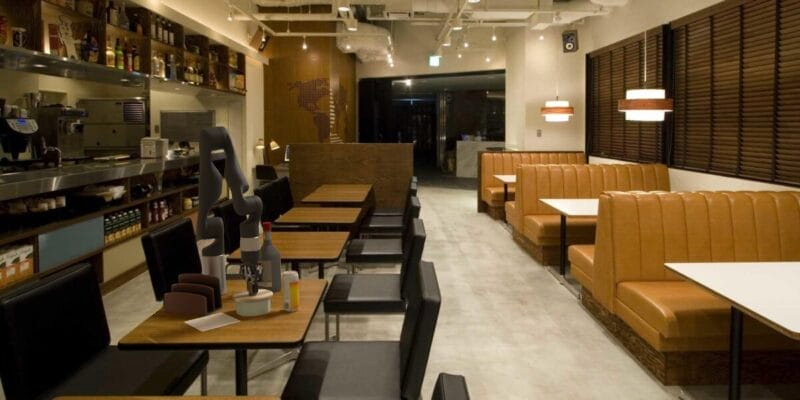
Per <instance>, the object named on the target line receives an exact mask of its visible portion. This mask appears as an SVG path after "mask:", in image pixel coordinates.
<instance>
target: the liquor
mask: <svg viewBox="0 0 800 400" xmlns="http://www.w3.org/2000/svg"><path fill="white" fill-rule="evenodd" d="M262 236H263V237H262V238H263V242H262V246H261V260H259V261H258V264H259V268H260V269H263V276H262V281H261V282H260V283H258V289H265V290H270V291H272V292H273V294H274V293H277V292H280V291H282V289H283V281H282V265H281V264H282V263H281V252H280V250H279V249H278V248H277V247H276V246H275V245H274V244H273V241H272V222H271V221H265V222H262Z"/></svg>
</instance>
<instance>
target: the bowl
mask: <svg viewBox="0 0 800 400" xmlns="http://www.w3.org/2000/svg"><path fill="white" fill-rule="evenodd" d="M271 299H272V298H270V299H268V300H265V301H261V302H254V303H241V302H236V301H235V311H236V312H235V313H236V315H239V316H241V317H257V316H261V315H265V314H268V313H269V312H270V311H271V310H272V303H271Z"/></svg>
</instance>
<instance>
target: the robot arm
mask: <svg viewBox="0 0 800 400" xmlns="http://www.w3.org/2000/svg"><path fill="white" fill-rule="evenodd" d="M221 150H222V151H223V152H224V154H225V166H224V169H223V170H224V173H223V176H224V180H225V182H226V184H227V186H228V188H229V190H230V193H231V198H232V206H233V210H234V211H235V213H236V214H237V215H238V216H241V217H242V216H243V217H244V216H247V219H245V220H244V221H241V222H240V223H239V232H240V233H239V234H240V235H239V236H240V240H239V246H240V247H239V249H240V251H239V252H240V261H241V262H243V263H242V264H240V265H239V267H240V271H241V276H242V279H243V280H245V281H244V282H246V290H247V291H248V282H249V281H252V293H253V294H255V293H258V283H260V282H261V281H262V276H263V269H260V268H259V264H258V261H259V260H261V247H262V246H261V239H260V238H261V237H260V221H261V218H262V214H263V213H262V212H263V206H264V205H263V201H262V200H261V199H262V198H261V197H259V196H258V195H248V196H247V195H246V196H244V194H247V192H248V191H249V189H250V186H249V183H248V181H247V179H246V176H245V174H244V173H243V171H242V168H241V166H240V163H239V159H238V156H237V152H236V150H235V146H234V143H233V140H232V138H231V135H230V132H229V131H228V129H227V128H226V127H225V126H222V125H218V126H210V127H205V128H202V129H200V131H199V133H198V153H199V176H198V177H199V178H198V208H197V217H196V227H195V228H196V230H195V231H196V235H197V239H199V240H201V241H208V240H213V242H212V243H210V244H208V245H207V246H204V247H203V248H202V249H201V261H202V262H201V263H202V274H204V275H210V276H215V277H218V278H219V279H220V288H221V296H223V295H225V294H227V280H226V279H227V277H226V276H227V275H226V262H225V261H226V258H225V238H224V237H225V236H224V235H225V228H224V227H225V226H224V225H225V224H224V221H223V218H222V217H221V216H220V217H219V216H212V217H208V216H209V213H210V211H211V210H212V209H213V207H214V206H215V205H216V203H217V202H218V201H219V199H220V198H221V196H222V193H223V181H224V180H223V176H222V174H221V173H220V171H219V169H217V167H216V166H215V165H214V163H213V160H212V152H217V151H221Z"/></svg>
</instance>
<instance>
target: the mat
mask: <svg viewBox="0 0 800 400" xmlns="http://www.w3.org/2000/svg"><path fill="white" fill-rule="evenodd" d="M240 322H242V321H241V320H239V319H237V318H235V317H233V316H230V315H229V314H226V313H224V312H218V313H215V314H214V313H213V314H210V315H207V316H203V317H202V316H201V317H198V318H194V319H189V320H186V321H184V323H185V324H187V325H188V326H191V327H192V328H195V329H197V330H198V331H200V332H206V331H210V330H213V329H218V328H221V327H225V326H229V325H233V324H236V323H240Z"/></svg>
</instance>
